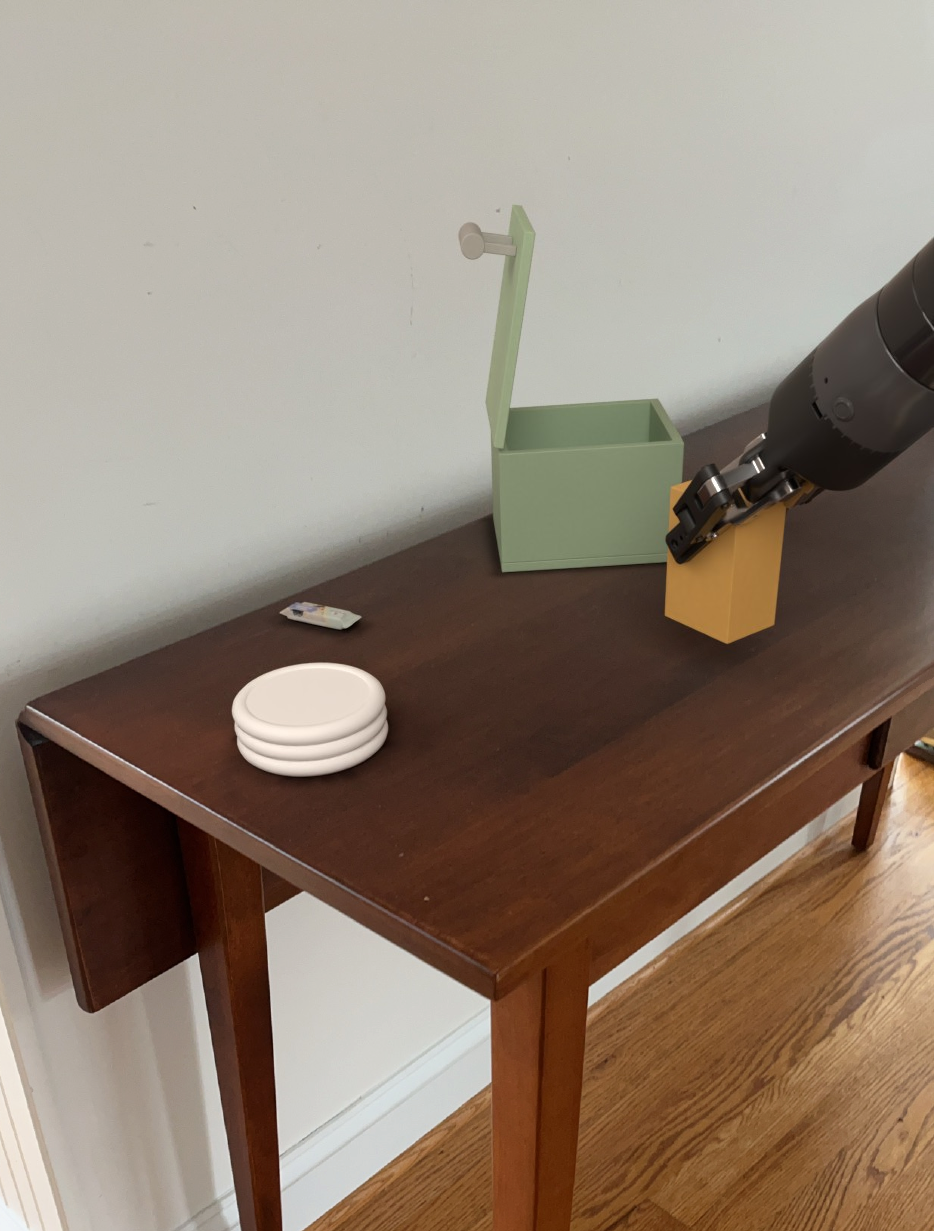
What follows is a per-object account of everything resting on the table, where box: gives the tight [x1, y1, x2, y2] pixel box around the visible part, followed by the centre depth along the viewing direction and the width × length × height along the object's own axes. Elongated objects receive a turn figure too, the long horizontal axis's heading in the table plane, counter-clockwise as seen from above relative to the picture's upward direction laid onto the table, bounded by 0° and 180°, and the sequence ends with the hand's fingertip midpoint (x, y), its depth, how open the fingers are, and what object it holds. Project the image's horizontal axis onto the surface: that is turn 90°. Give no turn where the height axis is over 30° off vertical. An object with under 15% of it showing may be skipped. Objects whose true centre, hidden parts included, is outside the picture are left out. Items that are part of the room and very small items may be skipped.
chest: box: [490, 398, 685, 573], centre depth 107 cm, size 15×13×10 cm
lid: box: [458, 204, 536, 449], centre depth 100 cm, size 15×13×5 cm
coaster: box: [231, 662, 389, 778], centre depth 83 cm, size 10×10×4 cm
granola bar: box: [278, 600, 362, 630], centre depth 99 cm, size 7×1×3 cm
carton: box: [664, 470, 787, 645], centre depth 83 cm, size 4×6×9 cm
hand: (703, 540), depth 84 cm, fingers closed on carton, 4 cm apart
